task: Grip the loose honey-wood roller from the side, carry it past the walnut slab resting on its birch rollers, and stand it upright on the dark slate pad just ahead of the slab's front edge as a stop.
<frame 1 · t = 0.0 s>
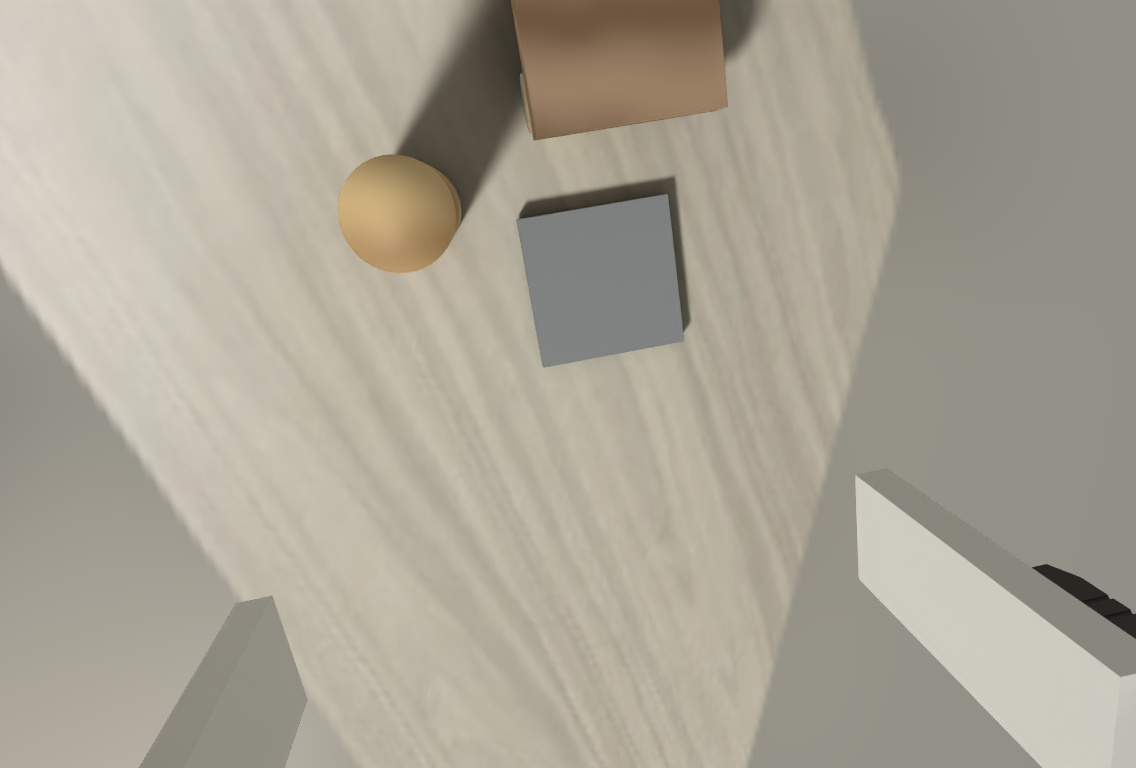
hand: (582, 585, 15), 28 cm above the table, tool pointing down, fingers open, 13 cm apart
pad: (601, 281, 41), on the table
roller: (417, 208, 39), on the table
slab: (600, 25, 37), on the table
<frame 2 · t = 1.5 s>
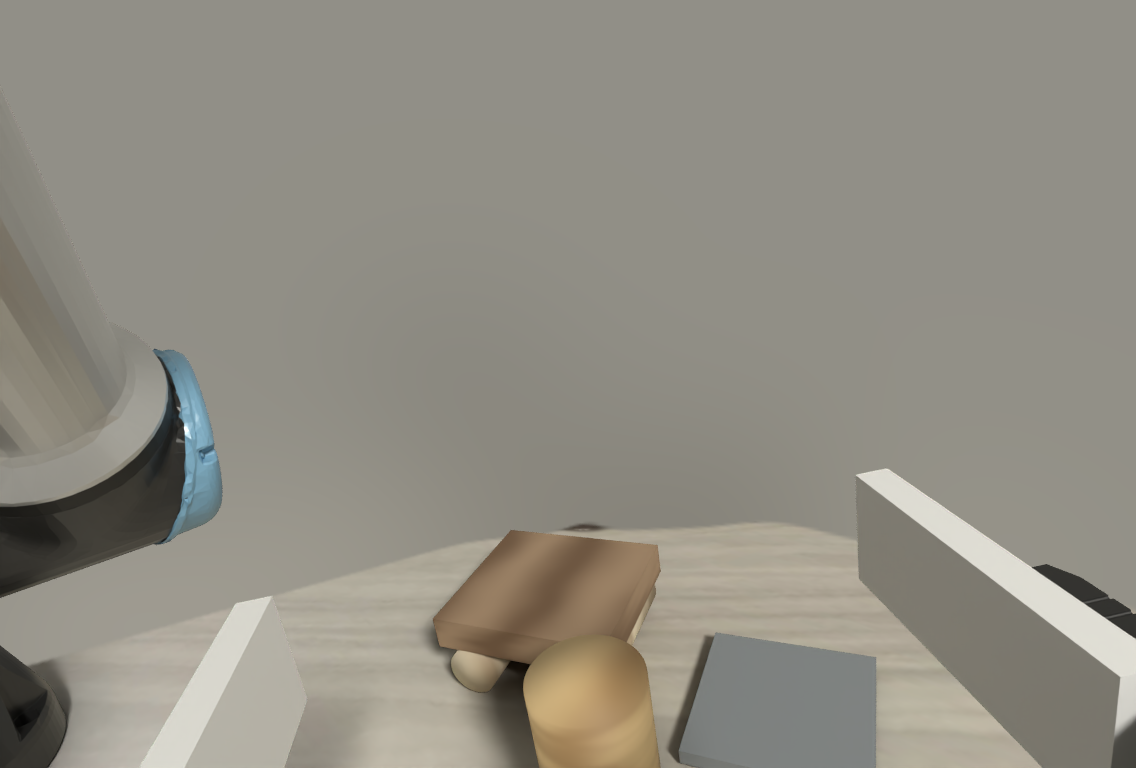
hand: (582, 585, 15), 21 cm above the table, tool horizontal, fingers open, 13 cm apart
pad: (783, 713, 36), on the table
slab: (562, 645, 43), on the table
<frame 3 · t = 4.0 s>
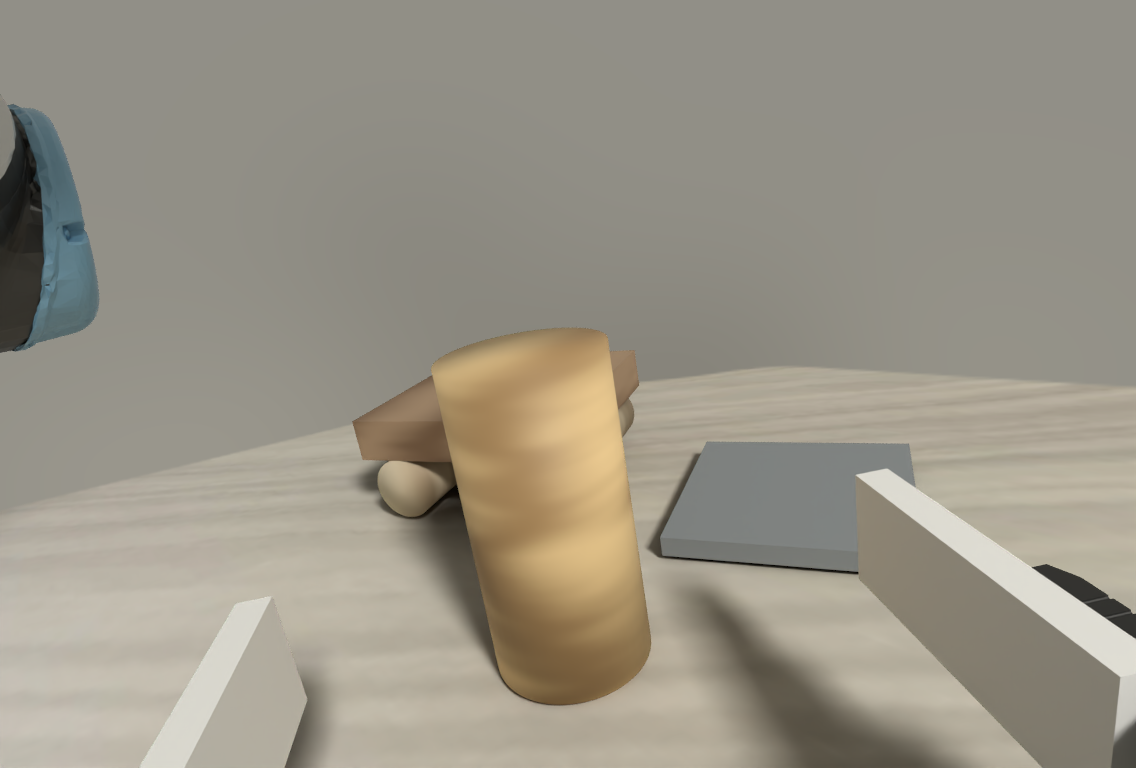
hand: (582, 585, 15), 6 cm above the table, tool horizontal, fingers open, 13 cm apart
pad: (794, 504, 28), on the table
roller: (574, 646, 22), on the table
slab: (519, 472, 35), on the table
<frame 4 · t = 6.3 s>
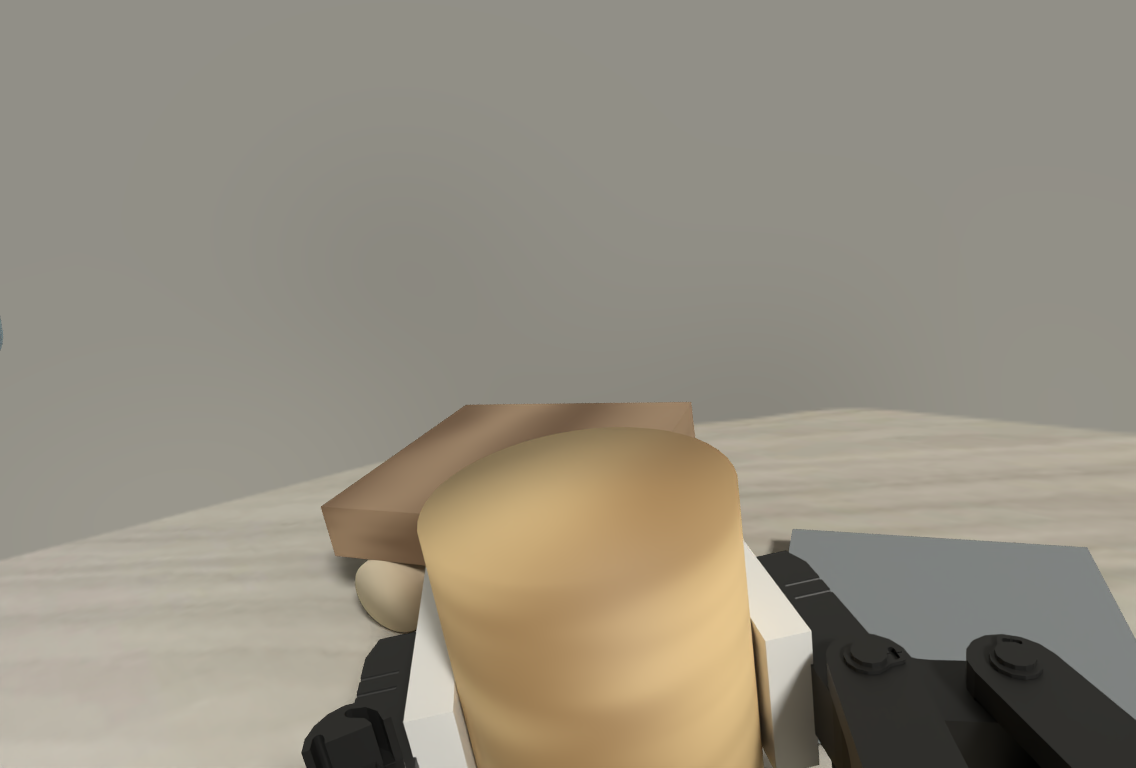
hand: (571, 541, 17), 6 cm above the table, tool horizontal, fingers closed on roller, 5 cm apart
pad: (940, 642, 20), on the table
slab: (542, 562, 27), on the table
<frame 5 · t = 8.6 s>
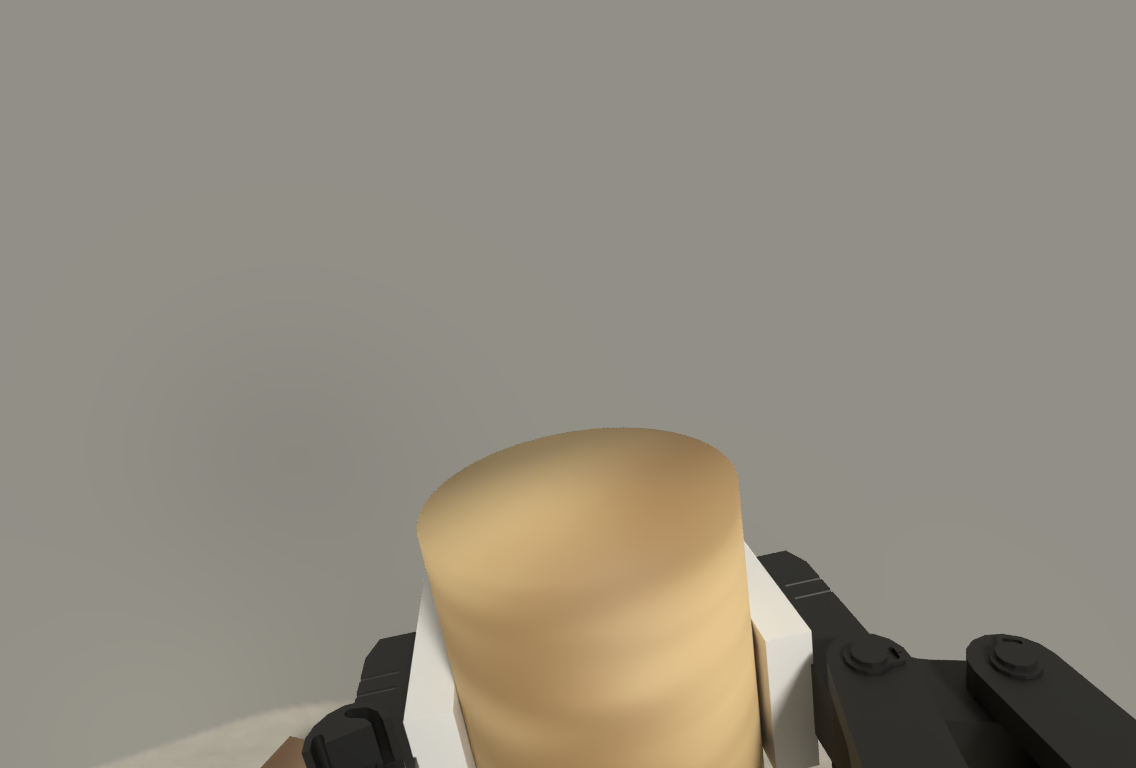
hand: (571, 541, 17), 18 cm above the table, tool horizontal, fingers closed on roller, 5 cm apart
when the fingers open (8 cm above the table, at t = 11.1 s): roller drops 1 cm, resting on pad.
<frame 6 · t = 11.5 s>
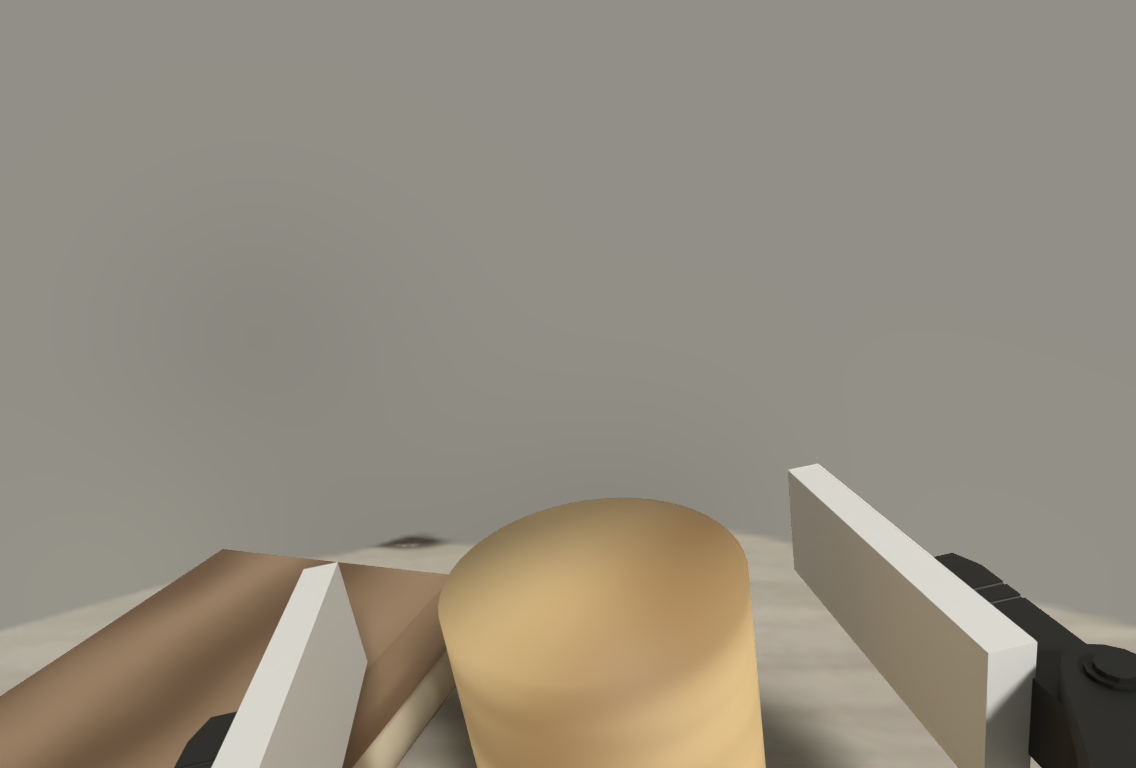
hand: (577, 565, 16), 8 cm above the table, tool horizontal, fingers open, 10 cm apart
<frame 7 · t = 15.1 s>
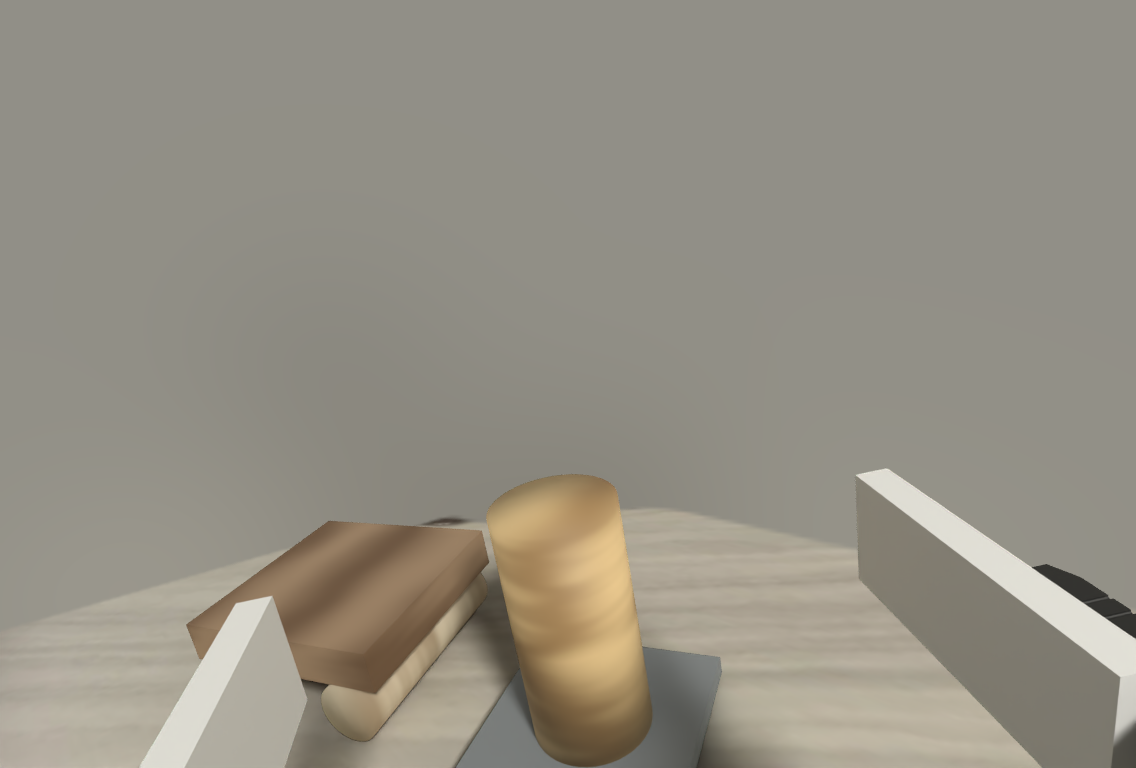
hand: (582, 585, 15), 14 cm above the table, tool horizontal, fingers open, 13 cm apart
pad: (595, 730, 28), on the table
roller: (593, 716, 28), point 1 cm above the table, touching pad
slab: (367, 655, 36), on the table
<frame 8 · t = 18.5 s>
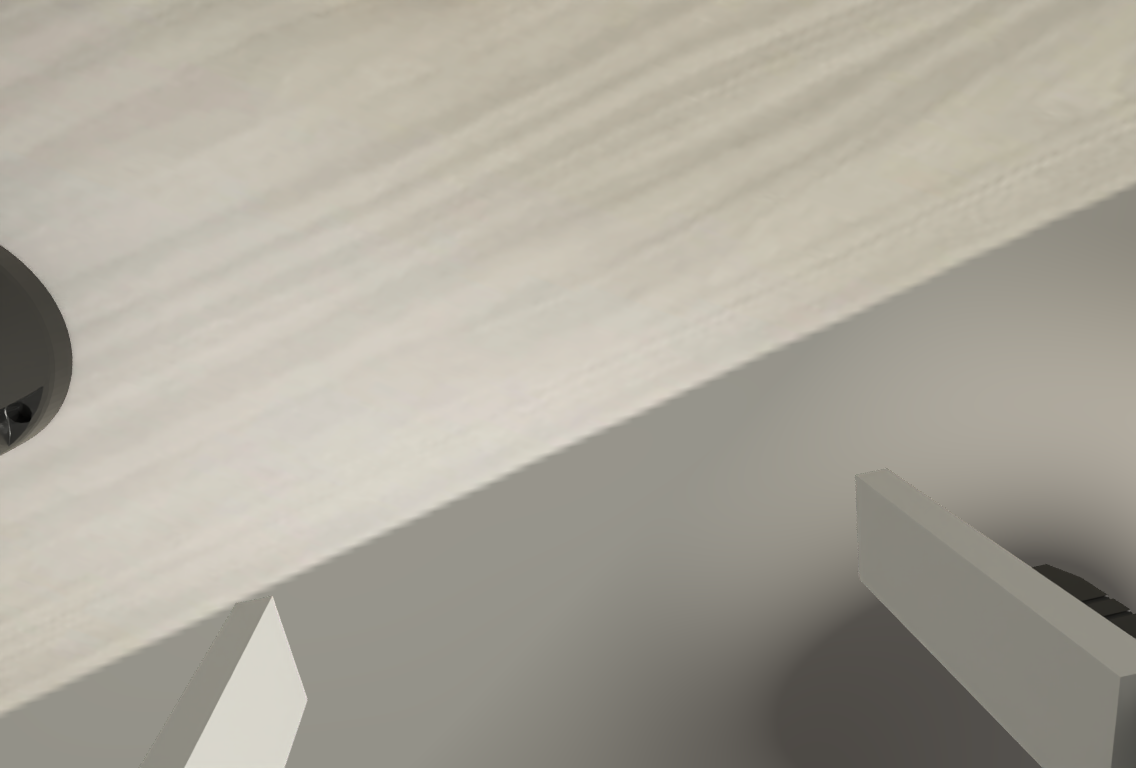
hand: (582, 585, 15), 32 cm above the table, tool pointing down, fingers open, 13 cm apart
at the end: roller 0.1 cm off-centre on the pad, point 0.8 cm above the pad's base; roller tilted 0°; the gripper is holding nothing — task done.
